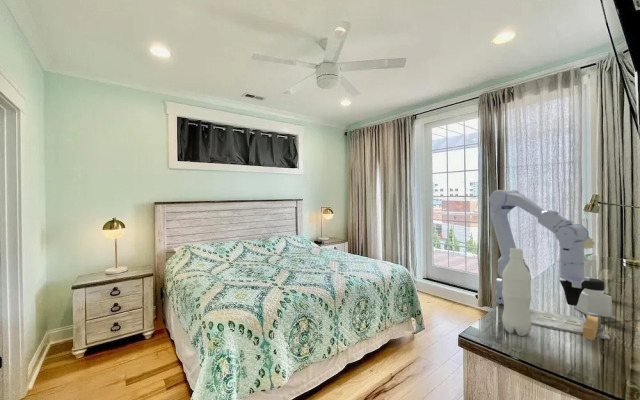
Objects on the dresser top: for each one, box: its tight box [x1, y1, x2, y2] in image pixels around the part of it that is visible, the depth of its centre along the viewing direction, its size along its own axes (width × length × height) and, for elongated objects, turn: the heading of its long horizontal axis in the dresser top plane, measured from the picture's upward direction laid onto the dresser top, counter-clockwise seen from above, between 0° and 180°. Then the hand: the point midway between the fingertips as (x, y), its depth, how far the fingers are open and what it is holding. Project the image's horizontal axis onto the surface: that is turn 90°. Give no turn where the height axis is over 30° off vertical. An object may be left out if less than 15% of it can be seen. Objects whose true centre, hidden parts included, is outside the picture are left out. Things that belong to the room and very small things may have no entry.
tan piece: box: [582, 312, 602, 341], centre depth 81 cm, size 16×3×3 cm, turn 131°
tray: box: [529, 308, 611, 341], centre depth 89 cm, size 18×14×1 cm
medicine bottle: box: [573, 277, 613, 318], centre depth 97 cm, size 7×7×12 cm
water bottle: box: [501, 247, 532, 337], centre depth 83 cm, size 7×7×25 cm
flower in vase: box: [584, 236, 606, 293], centre depth 122 cm, size 13×11×25 cm
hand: (571, 304), depth 88 cm, fingers closed
